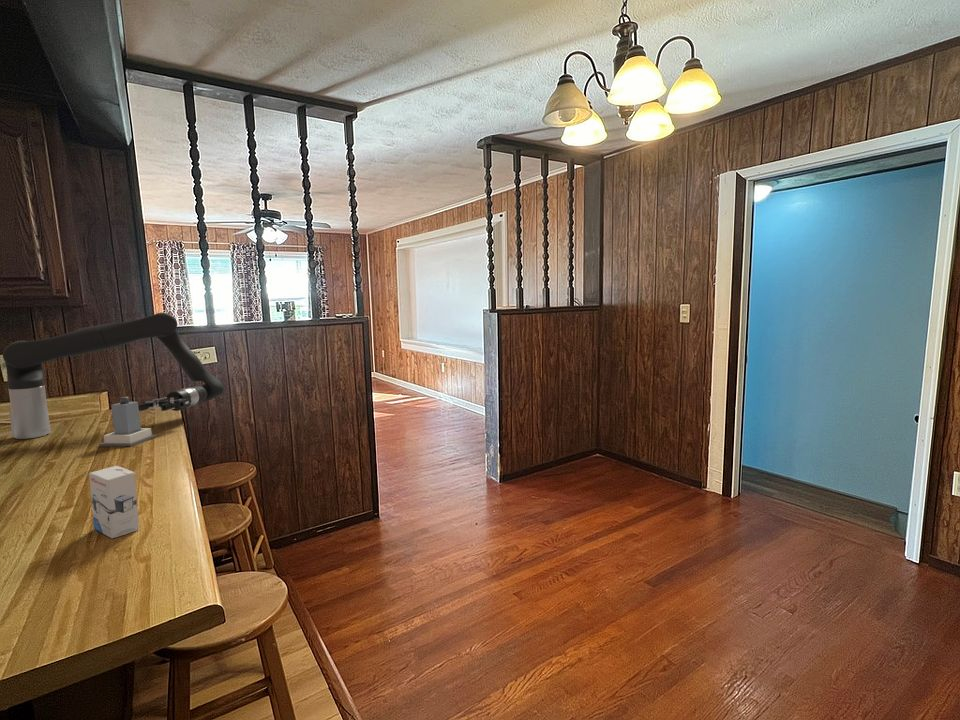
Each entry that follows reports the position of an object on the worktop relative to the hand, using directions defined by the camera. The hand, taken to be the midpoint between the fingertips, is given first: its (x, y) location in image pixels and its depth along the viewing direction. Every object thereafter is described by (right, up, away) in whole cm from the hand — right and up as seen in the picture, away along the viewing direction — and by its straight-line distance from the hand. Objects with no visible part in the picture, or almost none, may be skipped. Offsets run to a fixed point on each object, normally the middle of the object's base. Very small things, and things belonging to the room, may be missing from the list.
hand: (150, 408), depth 171 cm
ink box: (+43, -17, -73) cm, 86 cm away
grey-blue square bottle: (-1, -9, -10) cm, 13 cm away
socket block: (-1, -10, -10) cm, 14 cm away
